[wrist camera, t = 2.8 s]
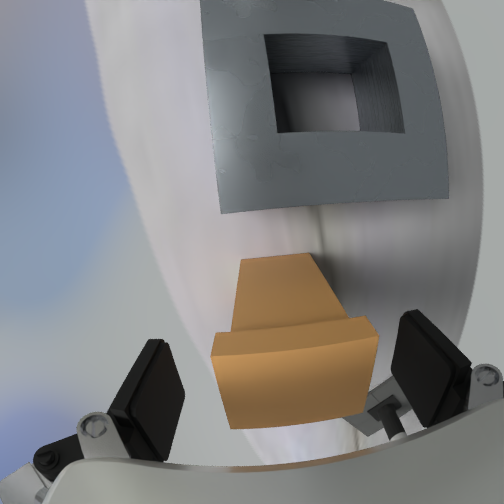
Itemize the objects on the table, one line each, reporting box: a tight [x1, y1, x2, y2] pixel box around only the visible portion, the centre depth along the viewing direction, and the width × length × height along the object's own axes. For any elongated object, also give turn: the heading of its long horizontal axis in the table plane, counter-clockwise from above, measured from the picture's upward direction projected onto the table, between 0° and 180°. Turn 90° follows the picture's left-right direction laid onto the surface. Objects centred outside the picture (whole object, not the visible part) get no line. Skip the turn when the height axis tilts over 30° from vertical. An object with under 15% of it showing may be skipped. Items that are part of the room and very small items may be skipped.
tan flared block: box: [211, 253, 379, 429], centre depth 12 cm, size 4×5×9 cm
